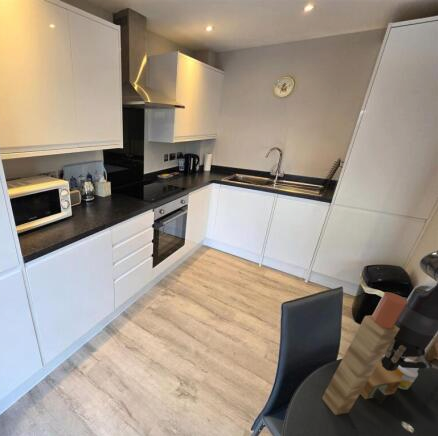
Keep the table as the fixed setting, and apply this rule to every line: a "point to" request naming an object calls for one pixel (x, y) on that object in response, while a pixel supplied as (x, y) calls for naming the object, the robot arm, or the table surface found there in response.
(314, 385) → the table surface
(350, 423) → the table surface
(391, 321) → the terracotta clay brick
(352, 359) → the column
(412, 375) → the supplement bottle
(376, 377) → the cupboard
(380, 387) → the green toy piece
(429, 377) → the table surface
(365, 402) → the table surface
